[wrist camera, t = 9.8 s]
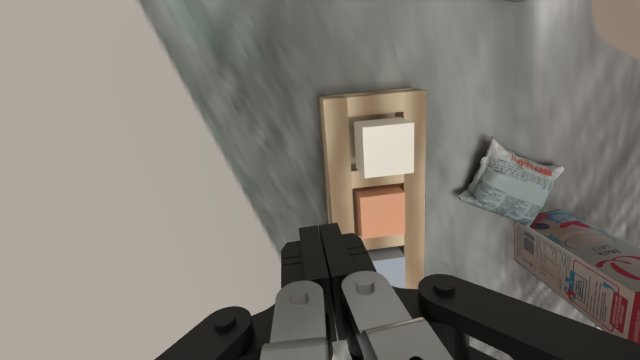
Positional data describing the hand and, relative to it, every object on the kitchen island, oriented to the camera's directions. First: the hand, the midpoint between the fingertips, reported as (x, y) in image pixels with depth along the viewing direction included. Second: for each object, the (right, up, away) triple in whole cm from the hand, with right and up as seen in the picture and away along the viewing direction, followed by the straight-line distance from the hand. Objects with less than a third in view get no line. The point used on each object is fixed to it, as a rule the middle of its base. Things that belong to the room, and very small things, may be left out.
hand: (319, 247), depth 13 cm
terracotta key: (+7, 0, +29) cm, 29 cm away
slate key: (+7, -8, +31) cm, 33 cm away
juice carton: (+31, -5, +36) cm, 48 cm away
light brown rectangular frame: (+6, 0, +31) cm, 31 cm away
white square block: (+6, +7, +24) cm, 25 cm away
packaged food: (+24, +3, +33) cm, 41 cm away
